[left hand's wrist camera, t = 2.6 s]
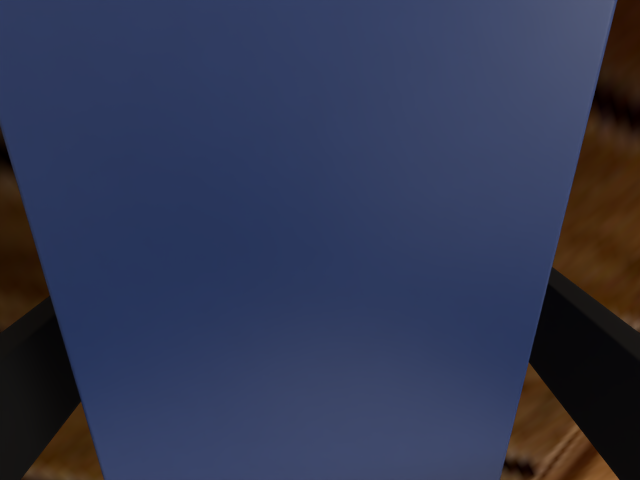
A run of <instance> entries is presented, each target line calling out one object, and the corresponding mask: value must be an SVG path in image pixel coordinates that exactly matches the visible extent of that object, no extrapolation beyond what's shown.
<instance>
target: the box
mask: <svg viewBox="0 0 640 480" xmlns="http://www.w3.org/2000/svg"><path fill="white" fill-rule="evenodd" d="M616 3H617V0H0V126H1V130H2V133H3V137H4V140H5V143H6V147H7V150H8V154H9V157H10V160H11V164H12V167H13V171H14V174H15V177H16V181H17V184H18V188H19V191H20V194H21V198H22V201H23V205H24V208H25V212H26V215H27V218H28V222H29V225H30V229H31V232H32V235H33V239H34V242H35V246H36V249H37V252H38V256H39V259H40V263H41V266H42V269H43V273H44V276H45V280H46V283H47V286H48V290H49V293H50V297H51V300H52V303H53V307H54V310H55V314H56V317H57V320H58V324H59V327H60V331H61V334H62V337H63V341H64V344H65V348H66V351H67V354H68V358H69V361H70V365H71V368H72V371H73V375H74V378H75V382H76V385H77V388H78V392H79V395H80V399H81V402H82V406H83V409H84V412H85V416H86V419H87V423H88V426H89V429H90V433H91V436H92V440H93V443H94V446H95V450H96V453H97V457H98V460H99V463H100V467H101V470H102V474H103V477H104V480H500V477H501V472H502V468H503V464H504V460H505V456H506V452H507V448H508V444H509V440H510V436H511V432H512V428H513V423H514V419H515V415H516V411H517V407H518V403H519V399H520V395H521V391H522V387H523V383H524V379H525V374H526V370H527V366H528V362H529V358H530V354H531V350H532V346H533V342H534V338H535V334H536V329H537V325H538V321H539V317H540V313H541V309H542V305H543V301H544V297H545V293H546V289H547V285H548V280H549V276H550V272H551V268H552V264H553V260H554V256H555V252H556V248H557V244H558V240H559V236H560V231H561V227H562V223H563V219H564V215H565V211H566V207H567V203H568V199H569V195H570V191H571V186H572V182H573V178H574V174H575V170H576V166H577V162H578V158H579V154H580V150H581V146H582V142H583V137H584V133H585V129H586V125H587V121H588V117H589V113H590V109H591V105H592V101H593V97H594V93H595V88H596V84H597V80H598V76H599V72H600V68H601V64H602V60H603V56H604V52H605V48H606V44H607V39H608V35H609V31H610V27H611V23H612V19H613V15H614V11H615V7H616Z"/></svg>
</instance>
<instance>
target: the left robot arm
mask: <svg viewBox="0 0 640 480" xmlns="http://www.w3.org/2000/svg"><path fill="white" fill-rule="evenodd" d="M529 363H530V364H531V366H532V367H533V368H534V369H535V371H536V372H537V373H538V375H539V376H540V377H541V379H542V380H543V381H544V382H545V384H546V385H547V386H548V388H549V389H550V390H551V391H552V393H553V394H554V395H555V397H556V398H557V399H558V401H559V402H560V403H561V404H562V406H563V407H564V408H565V410H566V411H567V412H568V414H569V415H570V416H571V417H572V419H573V420H574V421H575V423H576V424H577V425H578V426H579V428H580V429H581V430H582V432H583V433H584V434H585V436H586V437H587V438H588V439H589V441H590V442H591V443H592V445H593V446H594V447H595V449H596V450H597V451H598V452H599V454H600V455H601V456H602V458H603V459H604V460H605V462H606V463H607V464H608V465H609V467H610V468H611V469H612V471H613V472H614V473H615V474H616V476H617V477H618V478H619V480H640V333H639V332H637V331H636V330H635V329H633V328H632V327H631V326H629V325H628V324H627V323H625V322H624V321H623V320H621V319H620V318H619V317H617V316H616V315H615V314H613V313H612V312H611V311H609V310H608V309H607V308H606V307H604V306H603V305H602V304H600V303H599V302H598V301H596V300H595V299H594V298H592V297H591V296H590V295H588V294H587V293H586V292H584V291H583V290H582V289H580V288H579V287H578V286H576V285H575V284H574V283H573V282H571V281H570V280H569V279H567V278H566V277H565V276H563V275H562V274H561V273H559V272H558V271H557V270H555V269H554V268H553V267H552V268H551V272H550V276H549V280H548V285H547V289H546V293H545V297H544V301H543V305H542V309H541V313H540V317H539V321H538V325H537V329H536V334H535V338H534V342H533V346H532V350H531V354H530V358H529ZM80 402H81V399H80V395H79V392H78V388H77V385H76V382H75V378H74V375H73V371H72V368H71V365H70V361H69V358H68V354H67V351H66V348H65V344H64V341H63V337H62V334H61V331H60V327H59V324H58V320H57V317H56V314H55V310H54V307H53V303H52V300H51V297H50V296H49V297H48V298H46V299H45V300H44V301H42V302H41V303H40V304H38V305H37V306H36V307H34V308H33V309H32V310H31V311H29V312H28V313H27V314H25V315H24V316H23V317H21V318H20V319H19V320H17V321H16V322H15V323H13V324H12V325H11V326H9V327H8V328H7V329H5V330H4V331H3V332H1V333H0V480H21V478H22V477H23V476H24V474H25V473H26V472H27V471H28V469H29V468H30V467H31V465H32V464H33V463H34V462H35V460H36V459H37V458H38V456H39V455H40V454H41V452H42V451H43V450H44V449H45V447H46V446H47V445H48V443H49V442H50V441H51V439H52V438H53V437H54V436H55V434H56V433H57V432H58V430H59V429H60V428H61V426H62V425H63V424H64V423H65V421H66V420H67V419H68V417H69V416H70V415H71V414H72V412H73V411H74V410H75V408H76V407H77V406H78V404H79V403H80Z"/></svg>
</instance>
